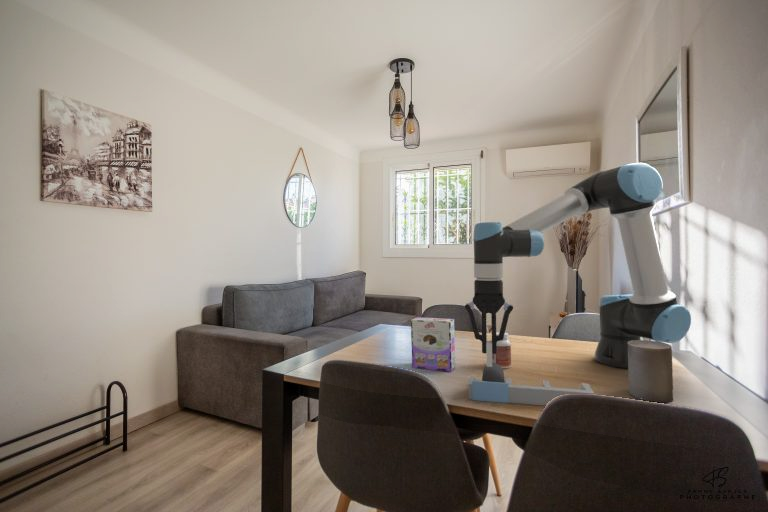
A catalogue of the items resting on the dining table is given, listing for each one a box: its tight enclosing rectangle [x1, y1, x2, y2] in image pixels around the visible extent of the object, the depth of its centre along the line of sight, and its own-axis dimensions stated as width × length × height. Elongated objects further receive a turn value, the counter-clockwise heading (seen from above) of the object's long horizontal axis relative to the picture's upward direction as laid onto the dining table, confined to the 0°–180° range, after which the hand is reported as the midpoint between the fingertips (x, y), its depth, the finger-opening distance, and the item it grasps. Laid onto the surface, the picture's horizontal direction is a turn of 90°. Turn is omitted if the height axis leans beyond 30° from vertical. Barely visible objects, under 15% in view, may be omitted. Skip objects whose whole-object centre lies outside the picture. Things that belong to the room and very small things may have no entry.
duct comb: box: [468, 375, 596, 406], centre depth 99 cm, size 30×7×5 cm, turn 74°
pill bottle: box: [492, 331, 512, 370], centre depth 127 cm, size 6×6×11 cm
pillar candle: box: [627, 339, 674, 403], centre depth 100 cm, size 10×10×15 cm
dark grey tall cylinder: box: [481, 363, 505, 383], centre depth 106 cm, size 12×6×6 cm, turn 164°
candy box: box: [410, 316, 456, 372], centre depth 128 cm, size 14×6×16 cm, turn 65°
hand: (489, 365), depth 104 cm, fingers closed
